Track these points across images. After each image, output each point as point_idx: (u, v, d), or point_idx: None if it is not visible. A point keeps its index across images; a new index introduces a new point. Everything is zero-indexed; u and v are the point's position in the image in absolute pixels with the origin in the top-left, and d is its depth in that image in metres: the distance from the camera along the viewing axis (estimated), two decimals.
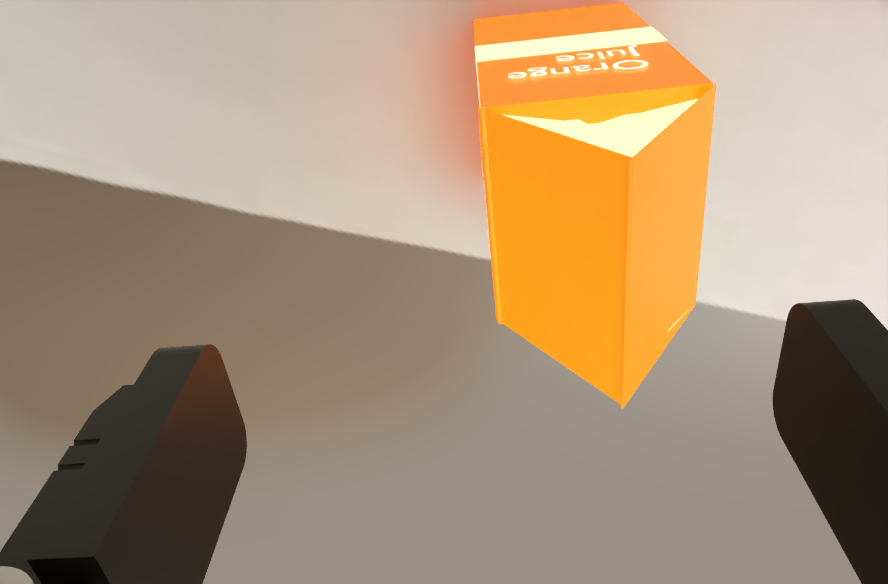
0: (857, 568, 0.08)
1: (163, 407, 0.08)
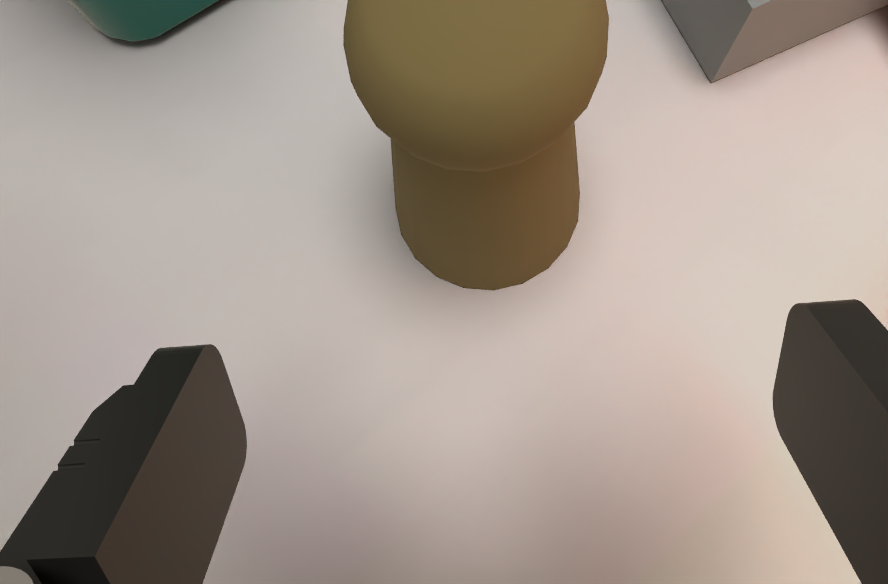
0: (858, 568, 0.08)
1: (163, 407, 0.08)
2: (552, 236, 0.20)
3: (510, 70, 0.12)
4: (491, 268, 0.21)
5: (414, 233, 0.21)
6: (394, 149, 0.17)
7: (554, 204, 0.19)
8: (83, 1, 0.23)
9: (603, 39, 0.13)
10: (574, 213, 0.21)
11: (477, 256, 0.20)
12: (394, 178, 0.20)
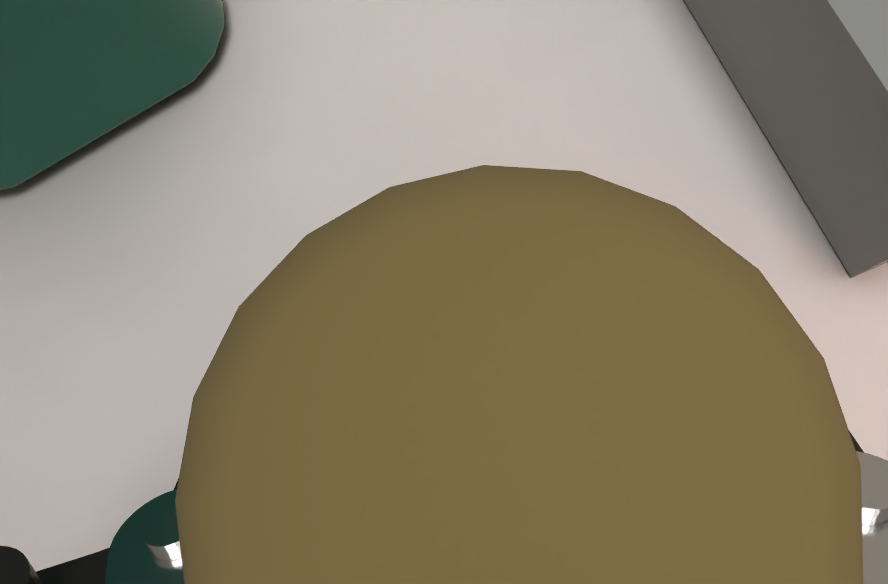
0: None
1: None
2: None
3: None
4: None
5: None
6: None
7: None
8: None
9: (860, 579, 0.05)
10: None
11: None
12: None
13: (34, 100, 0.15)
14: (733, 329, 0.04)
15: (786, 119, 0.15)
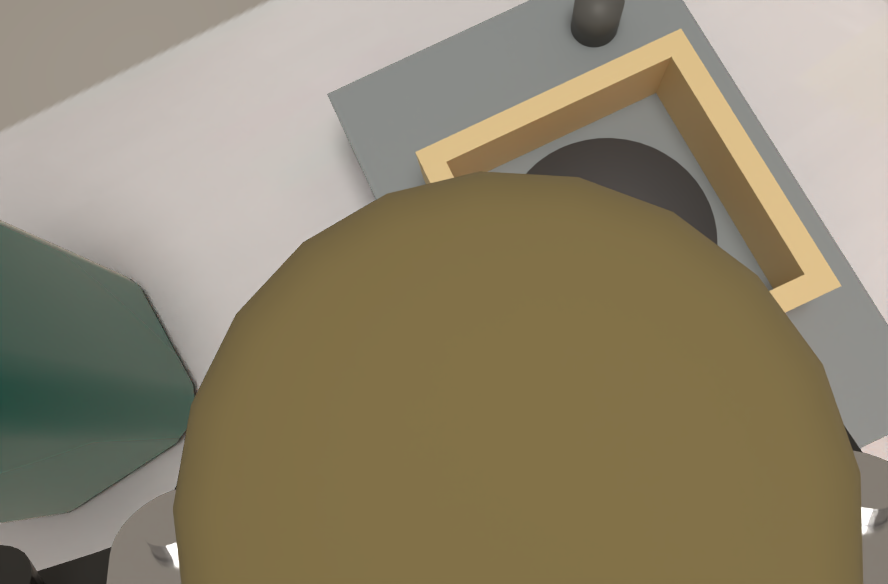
0: None
1: None
2: None
3: None
4: None
5: None
6: None
7: None
8: None
9: None
10: None
11: None
12: None
13: (87, 484, 0.26)
14: (730, 337, 0.04)
15: None
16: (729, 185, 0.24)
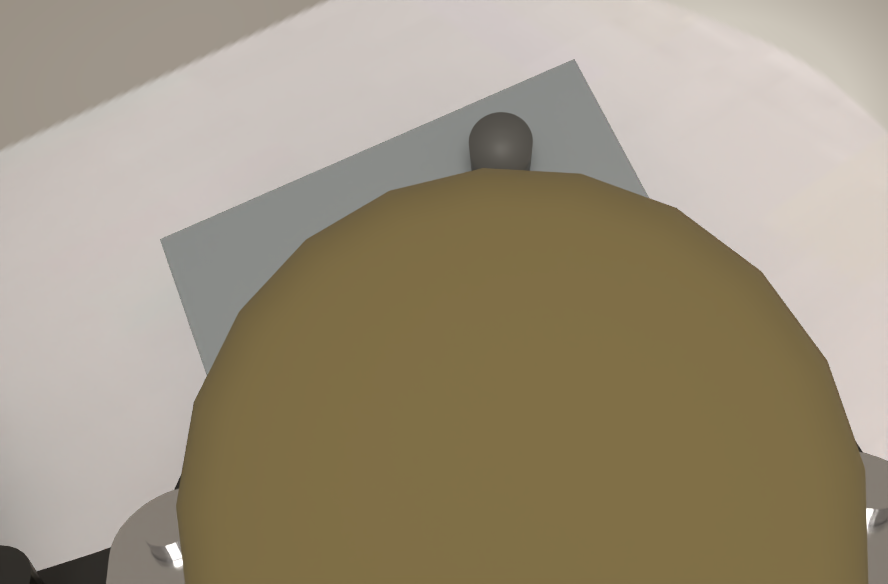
0: None
1: None
2: None
3: None
4: None
5: None
6: None
7: None
8: None
9: None
10: None
11: None
12: None
13: None
14: (733, 333, 0.04)
15: None
16: None
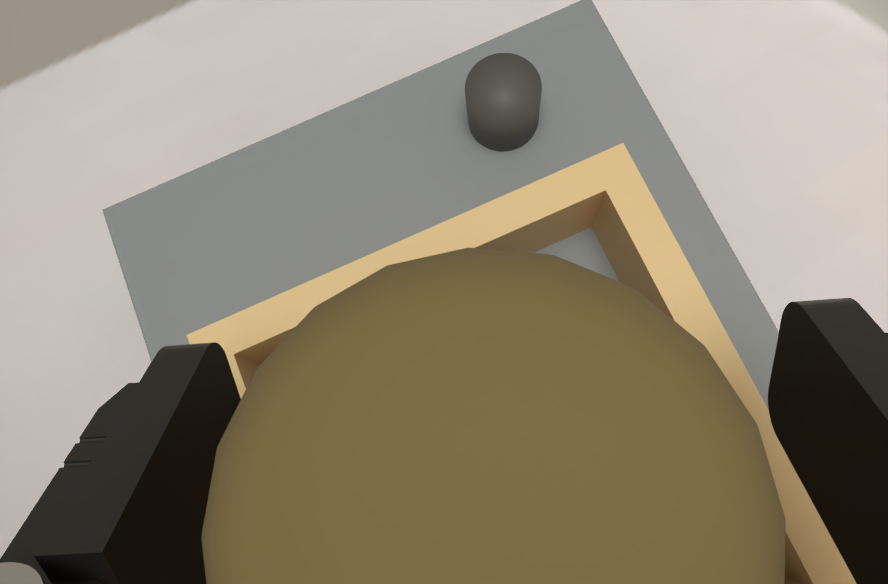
0: (851, 566, 0.08)
1: (169, 404, 0.08)
2: None
3: None
4: None
5: None
6: None
7: None
8: None
9: None
10: None
11: None
12: None
13: None
14: (673, 408, 0.05)
15: None
16: None
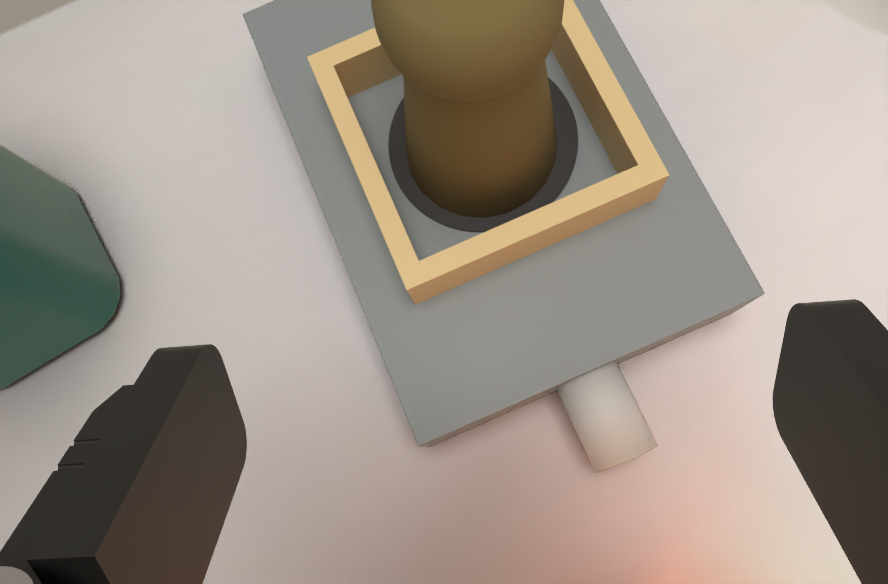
0: (859, 569, 0.08)
1: (163, 407, 0.08)
2: (531, 170, 0.25)
3: (490, 21, 0.17)
4: (482, 196, 0.26)
5: (420, 166, 0.26)
6: (406, 92, 0.22)
7: (531, 140, 0.23)
8: None
9: (559, 2, 0.18)
10: (551, 155, 0.26)
11: (470, 183, 0.25)
12: (405, 120, 0.25)
13: (15, 357, 0.29)
14: None
15: None
16: (586, 93, 0.27)
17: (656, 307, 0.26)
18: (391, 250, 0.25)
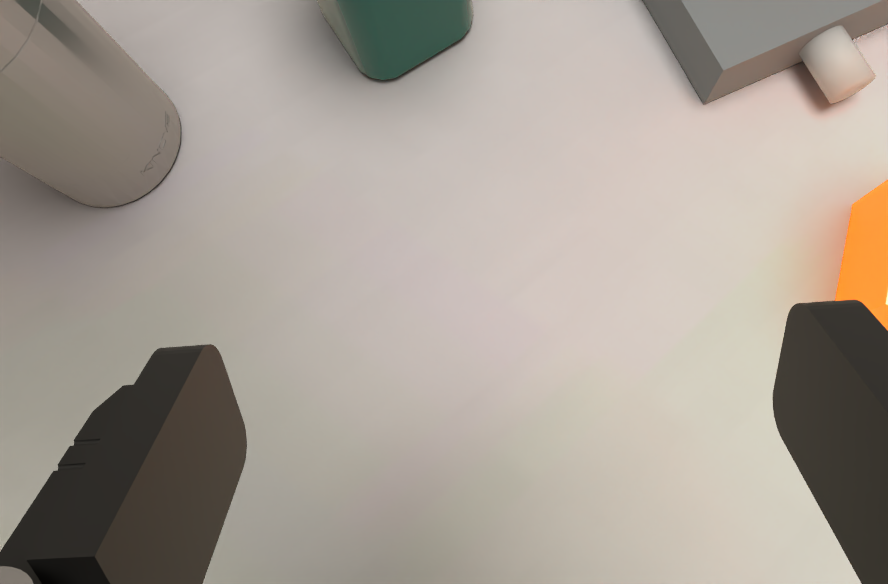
0: (858, 568, 0.08)
1: (163, 407, 0.08)
2: None
3: None
4: None
5: None
6: None
7: None
8: (369, 60, 0.43)
9: None
10: None
11: None
12: None
13: (420, 42, 0.43)
14: None
15: (681, 49, 0.43)
16: None
17: None
18: None
